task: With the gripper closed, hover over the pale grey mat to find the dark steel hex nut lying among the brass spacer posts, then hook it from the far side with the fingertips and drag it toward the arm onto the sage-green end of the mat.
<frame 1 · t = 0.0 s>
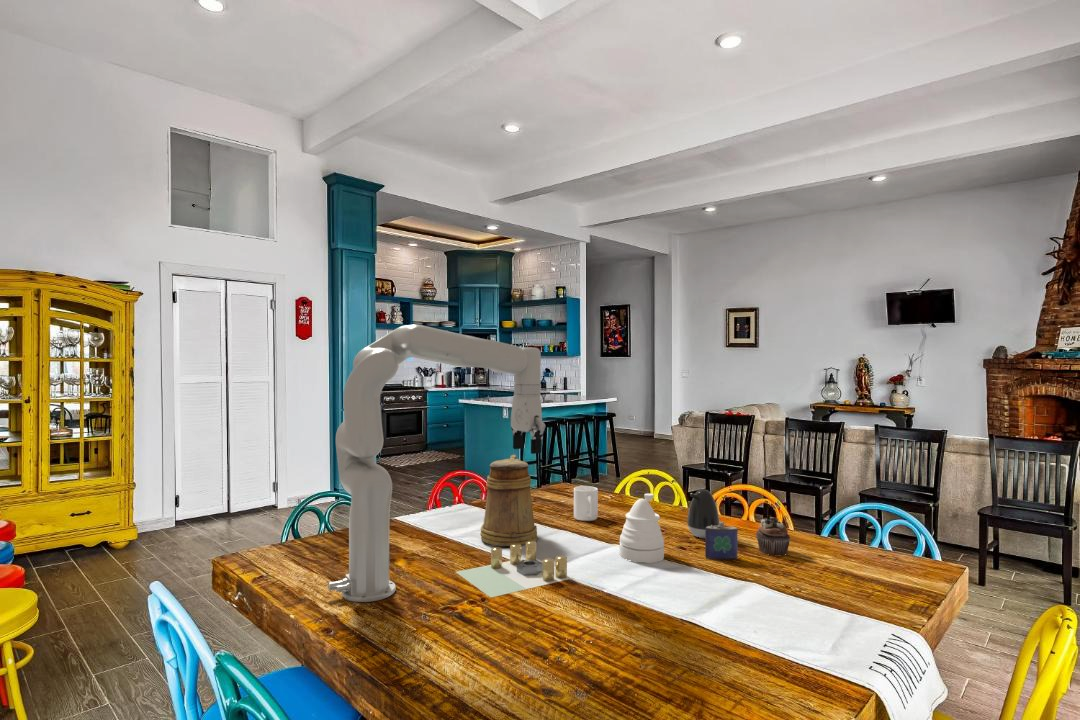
hand: (526, 450, 173), 31 cm above the table, tool pointing down, fingers open, 9 cm apart
mat: (513, 578, 159), on the table
nut: (529, 571, 162), point 1 cm above the table, touching mat
flask: (721, 559, 176), on the table
cupcake: (772, 552, 182), on the table
spacers: (528, 562, 162), on the mat, point 3 cm above the table
honey pot: (641, 556, 178), on the table
tankard: (509, 537, 195), on the table
mug: (586, 519, 217), on the table
penguin figurine: (702, 536, 197), on the table
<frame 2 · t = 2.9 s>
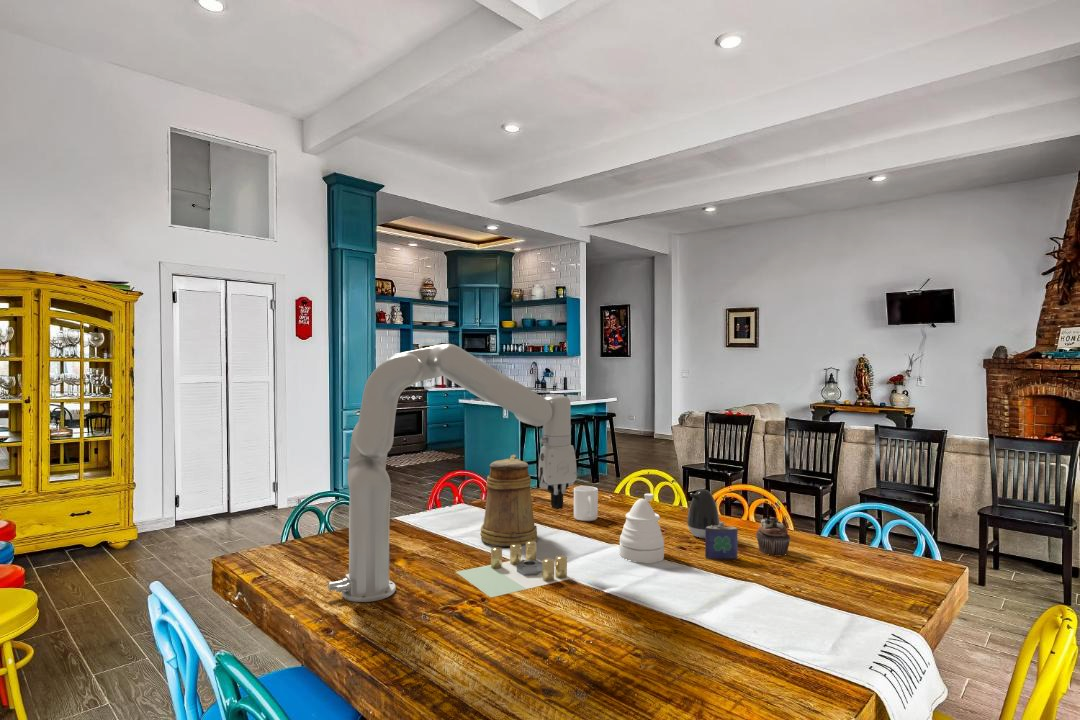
hand: (557, 507, 166), 17 cm above the table, tool pointing down, fingers closed
nothing on the table moved.
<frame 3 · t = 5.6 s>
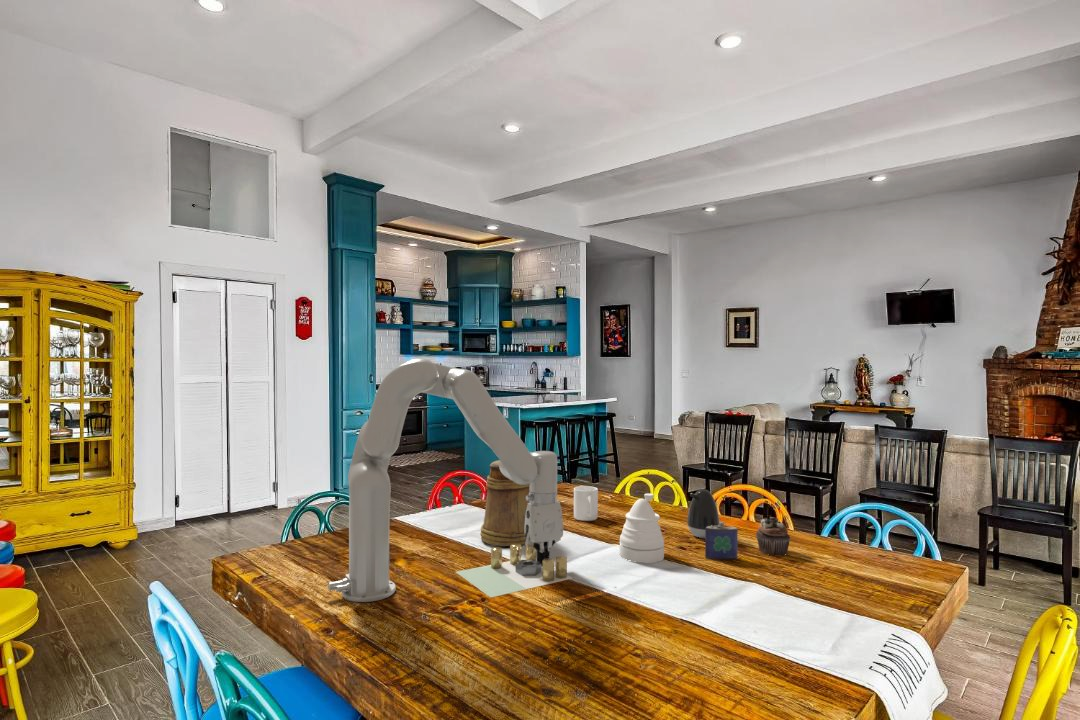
hand: (543, 565, 164), 2 cm above the table, tool pointing down, fingers closed
nut: (528, 571, 162), point 1 cm above the table, touching gripper, mat
everything else where it was.
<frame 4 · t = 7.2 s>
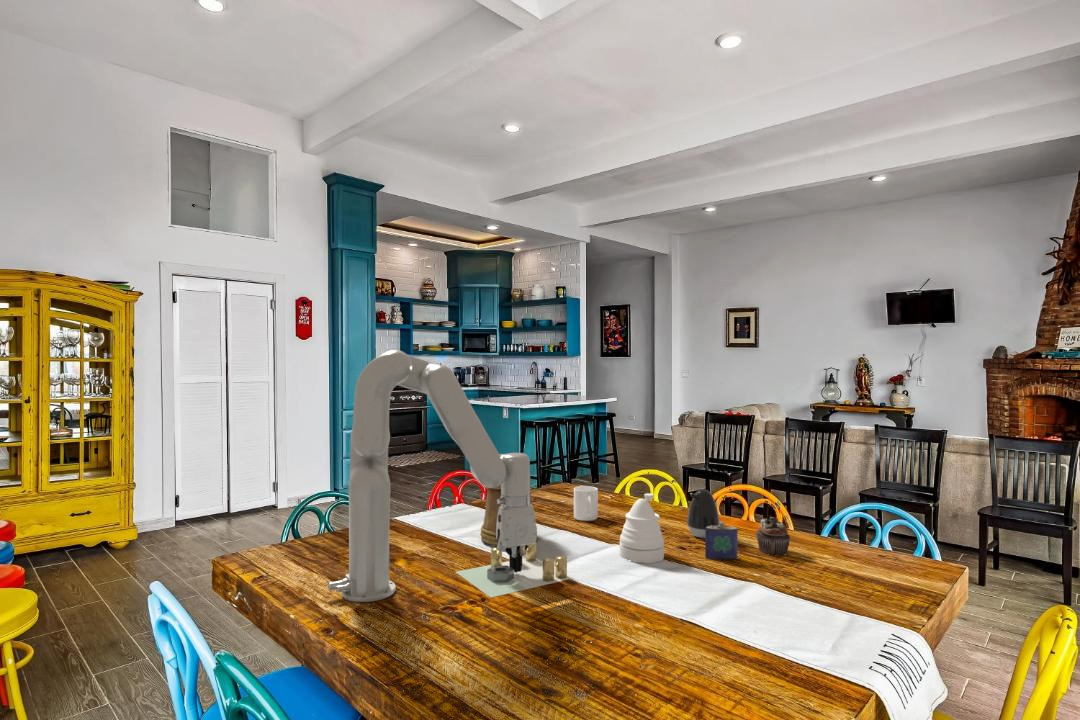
hand: (515, 570, 159), 2 cm above the table, tool pointing down, fingers closed
nut: (500, 578, 157), point 1 cm above the table, touching gripper, mat
everything else where it was.
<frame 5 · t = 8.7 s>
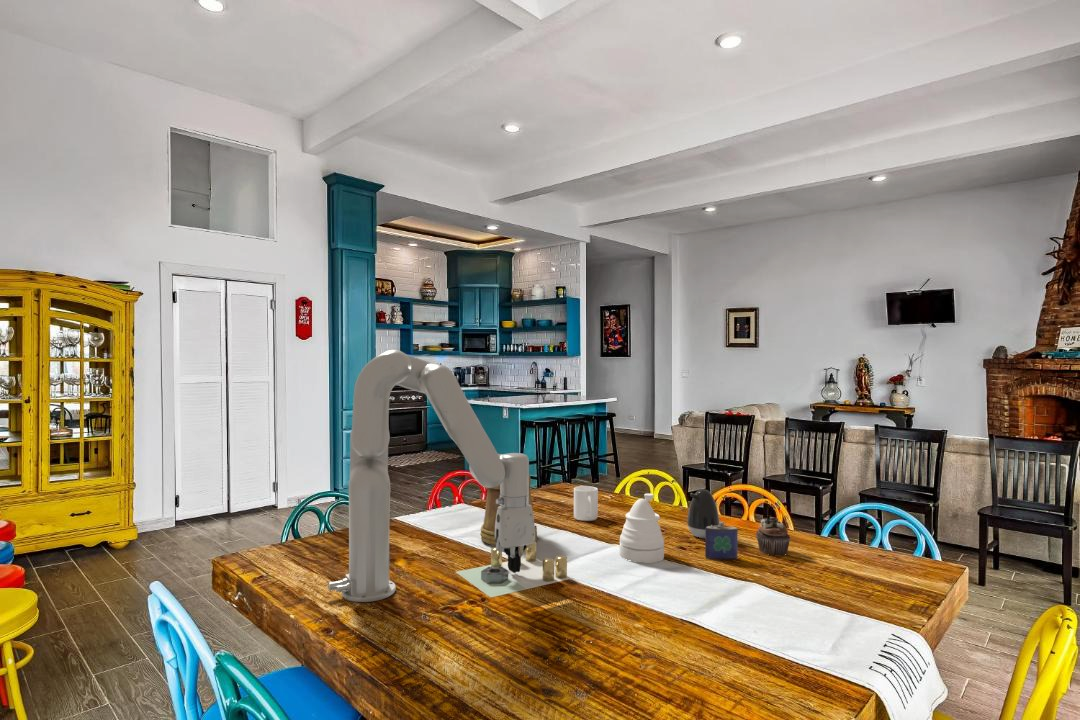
hand: (514, 570, 159), 2 cm above the table, tool pointing down, fingers closed
nut: (494, 579, 156), point 1 cm above the table, touching mat
everything else where it was.
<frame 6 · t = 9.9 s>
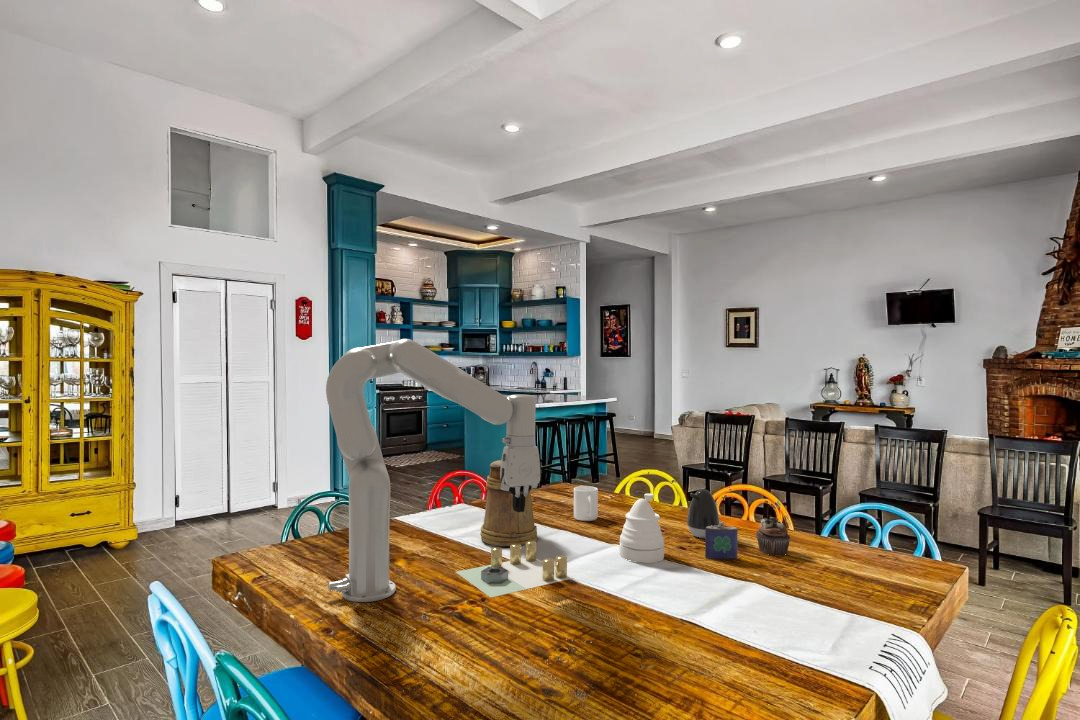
hand: (518, 510, 160), 17 cm above the table, tool pointing down, fingers closed
nothing on the table moved.
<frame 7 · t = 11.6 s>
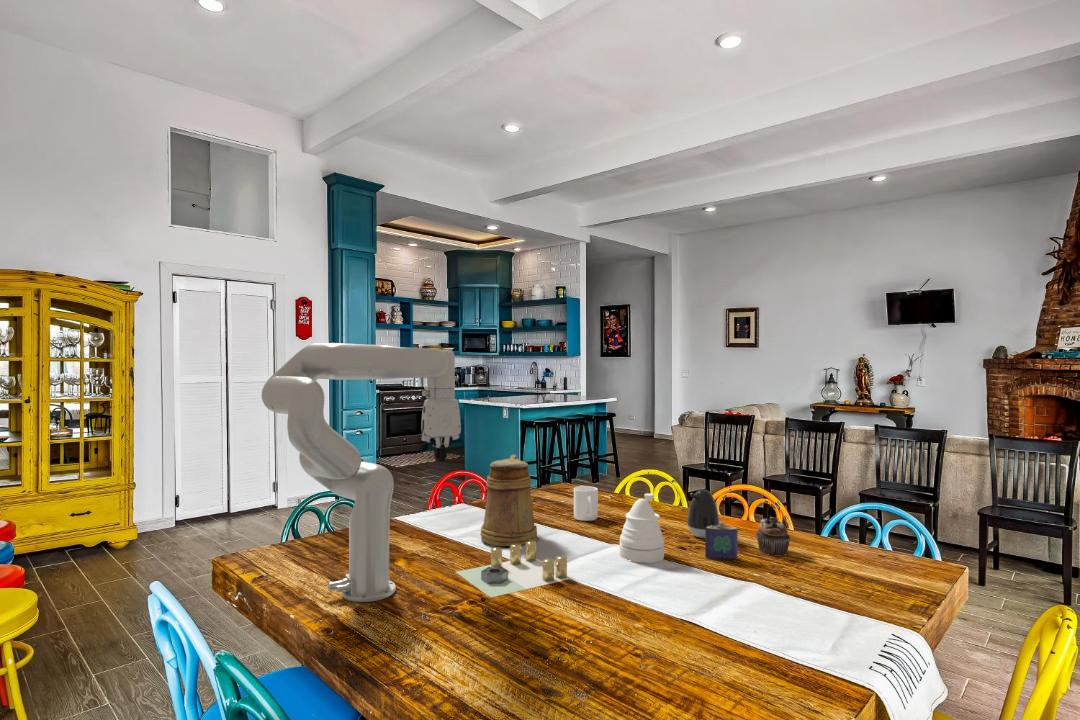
hand: (440, 461, 167), 29 cm above the table, tool pointing down, fingers closed
nothing on the table moved.
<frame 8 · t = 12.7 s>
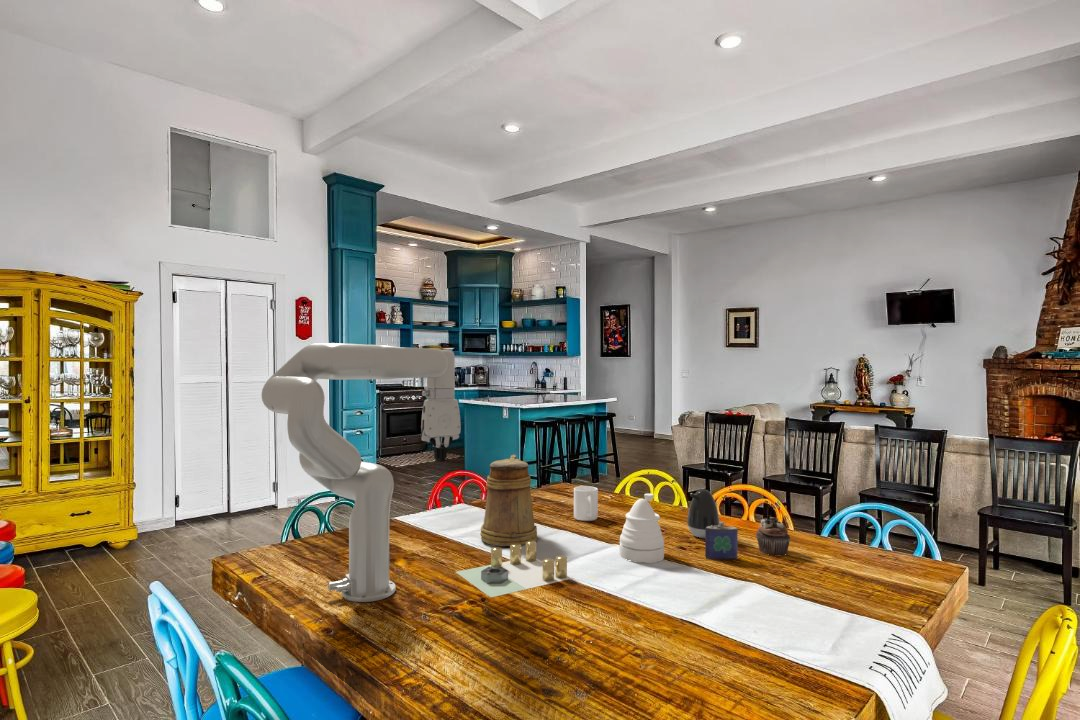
hand: (440, 461, 167), 29 cm above the table, tool pointing down, fingers closed
nothing on the table moved.
at the end: nut inside the target area (1.1 cm from its centre), point 0.8 cm above the table; nut tilted 0°; nut moved 10.7 cm from its start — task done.
